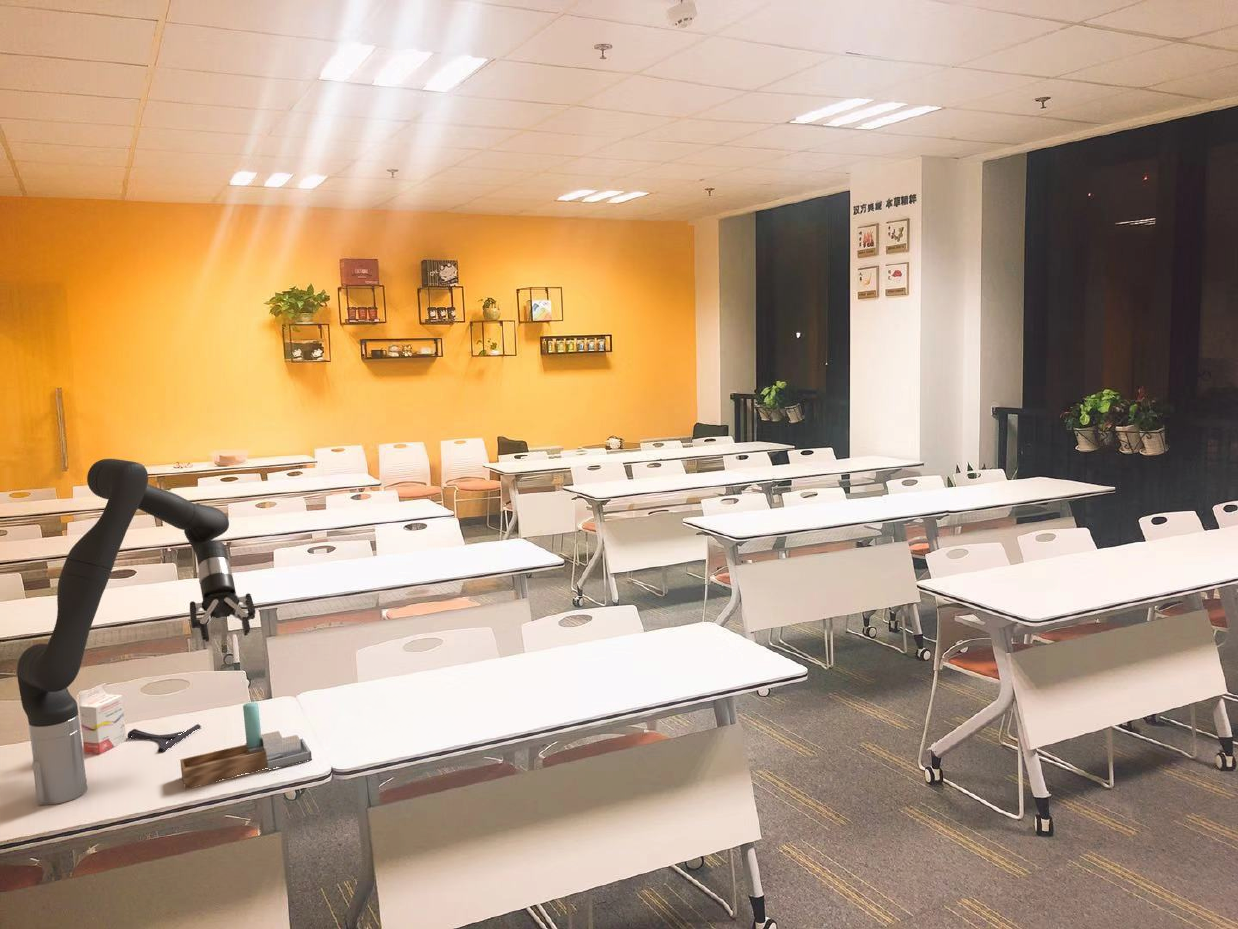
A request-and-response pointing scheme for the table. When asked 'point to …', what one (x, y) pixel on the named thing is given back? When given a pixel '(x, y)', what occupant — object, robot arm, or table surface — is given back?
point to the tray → (290, 758)
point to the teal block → (252, 728)
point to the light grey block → (272, 743)
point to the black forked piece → (162, 737)
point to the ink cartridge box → (101, 720)
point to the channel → (220, 765)
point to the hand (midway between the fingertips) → (227, 637)
